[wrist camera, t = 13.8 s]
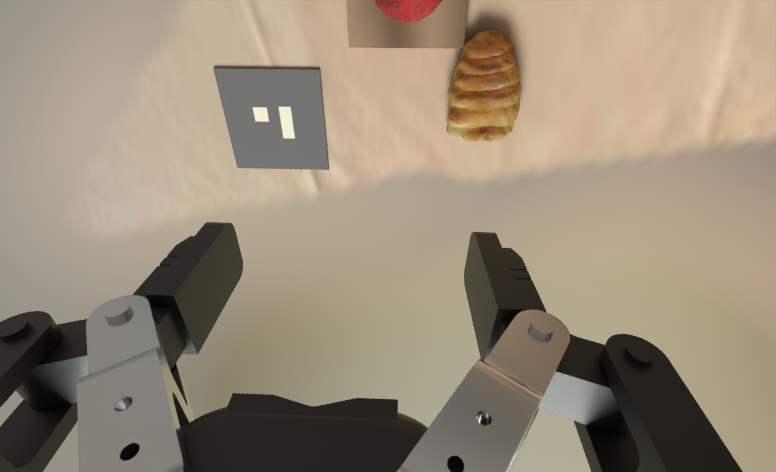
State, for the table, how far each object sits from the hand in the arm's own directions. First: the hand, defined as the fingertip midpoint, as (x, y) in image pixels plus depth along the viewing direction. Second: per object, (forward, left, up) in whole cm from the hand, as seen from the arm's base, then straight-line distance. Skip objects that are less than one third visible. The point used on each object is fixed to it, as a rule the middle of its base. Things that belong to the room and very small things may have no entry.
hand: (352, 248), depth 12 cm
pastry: (-9, +1, -27) cm, 29 cm away
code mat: (+11, +4, -27) cm, 29 cm away
